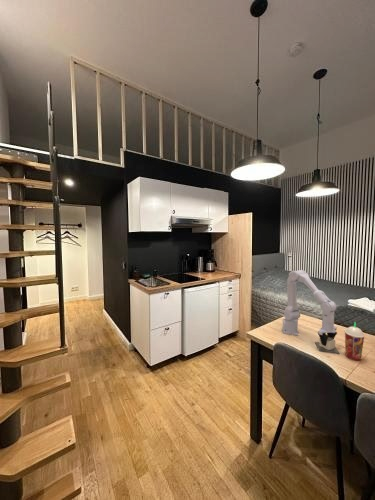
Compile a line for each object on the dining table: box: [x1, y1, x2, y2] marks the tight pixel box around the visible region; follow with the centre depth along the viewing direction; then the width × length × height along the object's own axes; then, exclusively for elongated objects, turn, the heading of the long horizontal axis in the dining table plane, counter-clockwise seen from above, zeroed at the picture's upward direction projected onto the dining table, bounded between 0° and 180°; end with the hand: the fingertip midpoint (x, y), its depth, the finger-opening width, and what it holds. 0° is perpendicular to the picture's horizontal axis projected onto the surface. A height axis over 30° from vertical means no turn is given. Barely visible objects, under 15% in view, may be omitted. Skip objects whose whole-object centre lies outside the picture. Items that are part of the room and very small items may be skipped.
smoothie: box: [344, 321, 365, 361], centre depth 115 cm, size 8×8×20 cm
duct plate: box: [314, 341, 340, 355], centre depth 125 cm, size 10×10×4 cm
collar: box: [319, 337, 336, 350], centre depth 124 cm, size 6×6×5 cm
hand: (326, 343), depth 125 cm, fingers closed on collar, 6 cm apart
